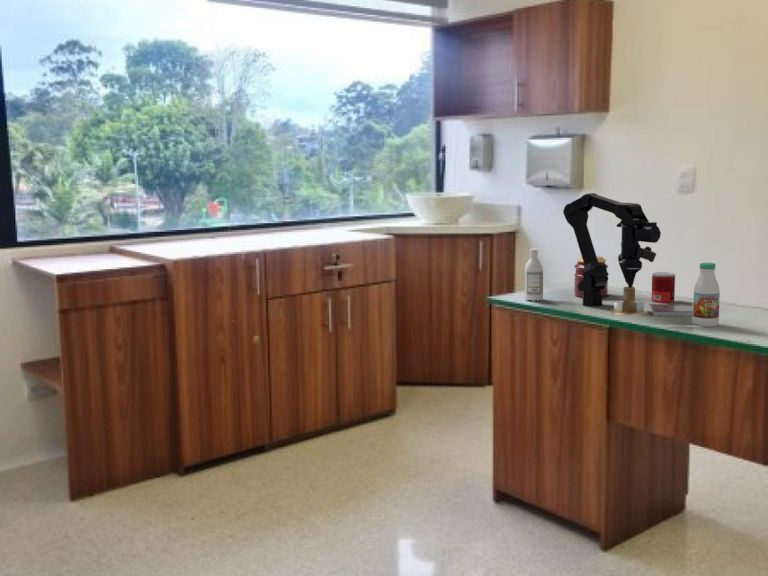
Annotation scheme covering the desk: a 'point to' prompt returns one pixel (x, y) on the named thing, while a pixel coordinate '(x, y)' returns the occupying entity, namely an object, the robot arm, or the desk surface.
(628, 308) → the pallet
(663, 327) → the desk surface
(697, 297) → the milk bottle
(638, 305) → the grey-green round cylinder
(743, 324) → the desk surface
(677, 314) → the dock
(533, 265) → the bath foam
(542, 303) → the desk surface
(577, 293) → the canister
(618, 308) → the white short cylinder
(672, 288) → the canned food
